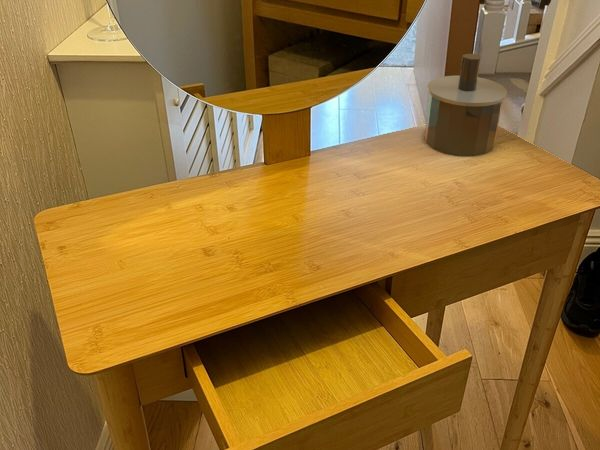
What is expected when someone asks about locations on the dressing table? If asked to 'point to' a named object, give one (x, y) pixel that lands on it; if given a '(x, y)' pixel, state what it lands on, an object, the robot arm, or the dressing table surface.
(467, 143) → the pot
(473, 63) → the lid
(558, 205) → the dressing table surface
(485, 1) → the robot arm
